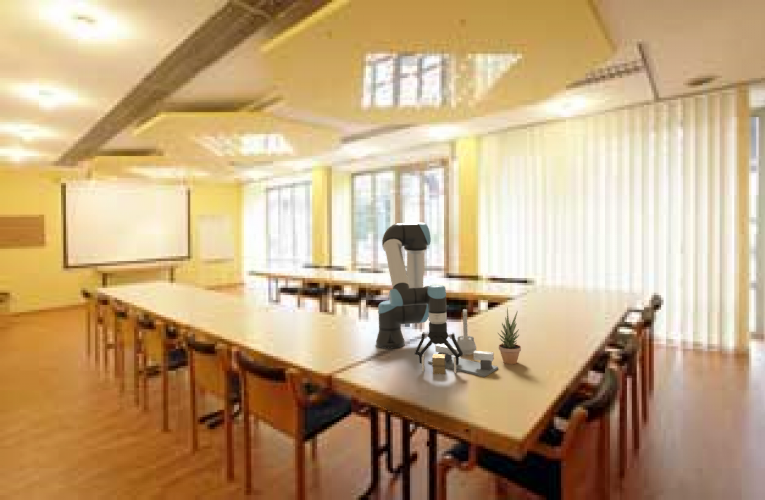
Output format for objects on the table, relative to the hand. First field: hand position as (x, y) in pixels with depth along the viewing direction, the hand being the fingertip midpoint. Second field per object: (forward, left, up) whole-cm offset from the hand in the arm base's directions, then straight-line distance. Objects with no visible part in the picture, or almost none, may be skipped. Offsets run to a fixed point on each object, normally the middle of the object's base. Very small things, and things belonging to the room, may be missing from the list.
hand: (439, 371), depth 174 cm
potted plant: (+18, +29, 0) cm, 34 cm away
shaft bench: (+4, +12, 0) cm, 13 cm away
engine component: (-6, +32, 0) cm, 33 cm away
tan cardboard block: (0, 0, 0) cm, 0 cm away
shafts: (+5, +13, +4) cm, 15 cm away
